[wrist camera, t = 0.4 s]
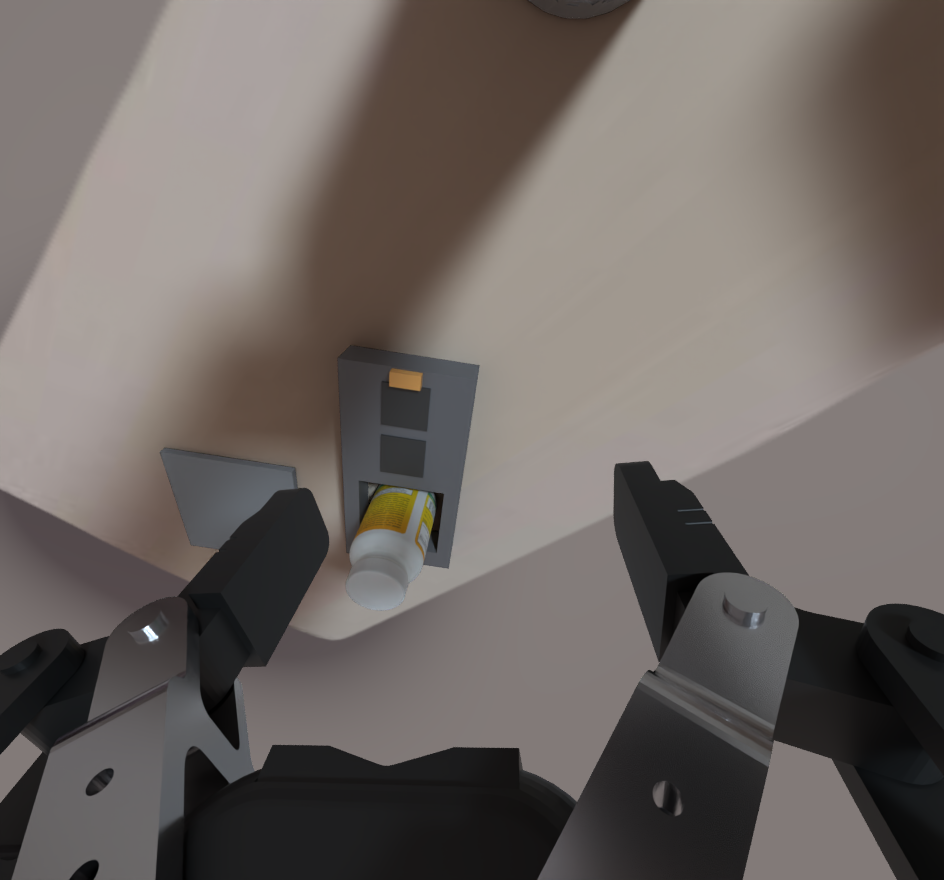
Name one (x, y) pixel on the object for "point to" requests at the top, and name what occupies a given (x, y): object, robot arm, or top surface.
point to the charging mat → (220, 492)
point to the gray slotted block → (404, 432)
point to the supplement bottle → (390, 546)
